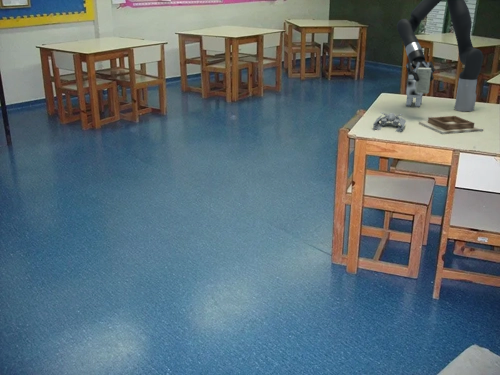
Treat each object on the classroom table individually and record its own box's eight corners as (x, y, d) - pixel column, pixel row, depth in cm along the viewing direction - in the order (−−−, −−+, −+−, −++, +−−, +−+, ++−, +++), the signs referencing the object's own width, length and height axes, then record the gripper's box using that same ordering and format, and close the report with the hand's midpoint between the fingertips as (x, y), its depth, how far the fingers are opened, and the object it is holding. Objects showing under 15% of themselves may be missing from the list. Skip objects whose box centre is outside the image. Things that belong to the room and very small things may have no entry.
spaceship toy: (372, 131, 248) (373, 118, 246) (378, 121, 266) (379, 109, 264) (402, 134, 244) (403, 120, 242) (406, 124, 261) (407, 111, 259)
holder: (456, 121, 266) (457, 114, 265) (483, 131, 248) (484, 123, 247) (418, 123, 261) (419, 116, 259) (442, 134, 243) (443, 126, 241)
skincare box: (428, 92, 265) (432, 67, 260) (427, 93, 261) (430, 69, 257) (416, 91, 267) (418, 67, 263) (414, 92, 264) (417, 68, 259)
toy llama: (422, 102, 307) (426, 68, 300) (418, 109, 292) (422, 72, 285) (408, 101, 310) (412, 67, 303) (404, 107, 295) (408, 71, 288)
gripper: (405, 49, 262) (415, 76, 255) (431, 48, 265) (441, 75, 259) (399, 58, 268) (408, 85, 262) (423, 57, 272) (434, 84, 266)
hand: (425, 80), depth 261 cm, fingers closed on skincare box, 7 cm apart
